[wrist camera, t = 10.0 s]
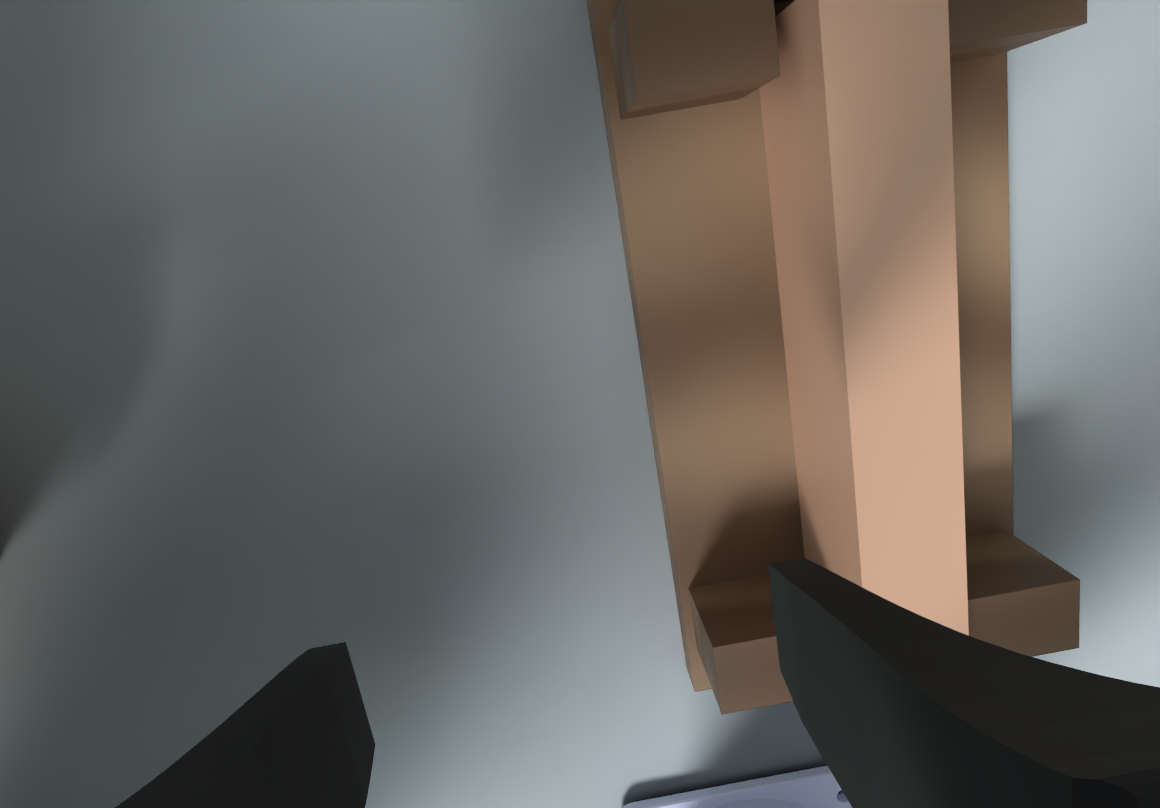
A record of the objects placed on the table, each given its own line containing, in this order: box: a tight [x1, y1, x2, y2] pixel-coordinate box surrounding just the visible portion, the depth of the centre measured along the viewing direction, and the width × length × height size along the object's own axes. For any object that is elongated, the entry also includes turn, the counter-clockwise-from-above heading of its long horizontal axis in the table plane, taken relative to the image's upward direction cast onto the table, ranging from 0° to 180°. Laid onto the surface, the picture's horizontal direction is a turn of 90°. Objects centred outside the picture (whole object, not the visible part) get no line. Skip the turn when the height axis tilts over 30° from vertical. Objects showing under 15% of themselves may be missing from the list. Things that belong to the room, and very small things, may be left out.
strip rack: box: [587, 0, 1087, 715], centre depth 19 cm, size 20×10×4 cm, turn 10°
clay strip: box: [759, 0, 969, 636], centre depth 18 cm, size 16×2×4 cm, turn 10°
